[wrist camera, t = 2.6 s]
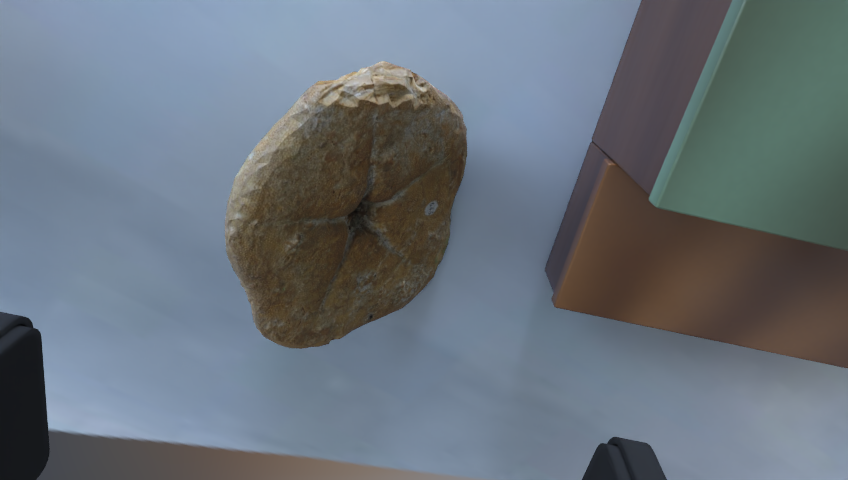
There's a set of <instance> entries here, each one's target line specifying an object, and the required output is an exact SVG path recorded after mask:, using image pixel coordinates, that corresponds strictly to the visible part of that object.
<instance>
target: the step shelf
mask: <svg viewBox="0 0 848 480" xmlns="http://www.w3.org/2000/svg"><path fill="white" fill-rule="evenodd" d="M592 141H593V142H591V143H590V145H589V148H588V151H587V154H586V157H585V159H584V162H583V165H582V168H581V170H580V173H579V176H578V179H577V182H576V184H575V187H574V190H573V193H572V195H571V198H570V201H569V204H568V207H567V209H566V212H565V215H564V218H563V220H562V223H561V226H560V229H559V232H558V234H557V237H556V240H555V243H554V245H553V248H552V251H551V254H550V257H549V259H548V262H547V265H546V268H545V272H546V274H547V277H548V279H549V282H550V284H551V287H552V289H553V292H554V293H553V296H552V302H553V305H554V307H556V308H561V309H566V310H570V311H575V312H580V313H585V314H590V315H594V316H599V317H604V318H609V319H614V320H618V321H623V322H628V323H633V324H638V325H642V326H647V327H652V328H657V329H662V330H666V331H671V332H676V333H681V334H686V335H690V336H695V337H700V338H705V339H710V340H714V341H719V342H724V343H729V344H734V345H738V346H743V347H748V348H753V349H758V350H762V351H767V352H772V353H777V354H782V355H786V356H791V357H796V358H801V359H806V360H810V361H815V362H820V363H825V364H830V365H834V366H839V367H844V368H848V0H642V1H641V4H640V7H639V9H638V12H637V15H636V18H635V20H634V23H633V26H632V29H631V32H630V34H629V37H628V40H627V43H626V45H625V48H624V51H623V54H622V57H621V59H620V62H619V65H618V68H617V70H616V73H615V76H614V79H613V82H612V84H611V87H610V90H609V93H608V95H607V98H606V101H605V104H604V107H603V109H602V112H601V115H600V118H599V120H598V123H597V126H596V129H595V132H594V134H593V137H592Z"/></svg>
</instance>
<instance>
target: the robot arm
mask: <svg viewBox="0 0 848 480" xmlns="http://www.w3.org/2000/svg"><path fill="white" fill-rule="evenodd" d="M48 457H49V436H48V422H47V409H46V395H45V381H44V367H43V354H42V340H41V334H40V332H39V330H38V329H35V328H33V324H32V322H31V320H30V319H29V318H26V317H23V316H18V315H13V314H8V313H3V312H0V480H36V479H37V478H38V477H39V475H40V474H41V472H42V471H43V469H44V468H45V466H46V463H47V461H48ZM582 480H667V479H666V477H665V475H664V473H663V471H662V468H661V466H660V464H659V462H658V460H657V458H656V455H655V453H654V451H653V449H652V448H651V446H650V445H648V444H647V443H643V442H638V441H633V440H629V439H624V438H619V437H613V438H611V439H610V440H609V441H608V443H607V444H604V443H601V444H600V445H599V446H598V447H597V449H596V451H595V453H594V455H593V457H592V459H591V461H590V464H589V466H588V468H587V470H586V472H585V474H584V476H583V478H582Z"/></svg>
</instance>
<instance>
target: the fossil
mask: <svg viewBox="0 0 848 480" xmlns="http://www.w3.org/2000/svg"><path fill="white" fill-rule="evenodd" d="M466 131H467V129H466V126H465V124H464V121H463V115H462V113H461V112H460V110H459V109H458V107H457V106H456V104H455V103H454V102H453V101H452V100H451V99H450V98H449V97H448V96H447V95H445V94H444V93H442V92H441V91H440V90H438V89H437V88H435V87H433V86H432V85H431V84H430V83H429V82H427V81H426V80H425V79H423V78H422V77H420V76H418V75H417V74H415V73H413V72H411V70H409V69H406V68H403V67H399V66H396V65H393V64H391V63H388V62H385V61H382V62H379V63H377V64H375V65H373V66H371V67H366V68H361V69H360V70H359V71H358V72H352V73H350V74H347V75H345V76H342V77H340V78H339V79H338V80H331V81H318V82H317V83H315V84H314V85H312V86H311V87H310V88H308V89H307V90H306V91H305V92H304V93H303V94H302V95H301V97H300V98H299V99H298V100H297V101H296V102H295V103H294V105H293V106H292V107H291V108H290V110H289V111H288V112H287V113H286V114H285V115H284V116H283V117H282V118H281V119H280V120H279V121H278V122H277V123H276V124H274V125H273V127H272V128H271V129H270V131H269V132H268V133H267V134H266V135H265V136H264V137H263V138H262V140H261V141H260V142H259V143H258V145H257V146H256V147H255V148H254V149H253V151H252V152H251V153H250V154H249V156H248V157H247V159H246V160H245V162H244V164H243V166H242V167H241V169H240V171H239V172H238V174H237V175H236V177H235V178H234V182H233V186H232V190H231V193H230V196H229V199H228V203H227V211H226V218H225V241H226V252H227V256H228V259H229V261H230V263H231V265H232V268H233V270H234V272H235V273H236V275H237V276H238V278H239V280H240V282H241V286H242V287H243V288H244V289H245V292H246V294H247V297H248V301H249V302H250V304H251V309H252V315H253V320H254V323H255V325H256V328H257V329H258V330H259V331H260V332H261V334H262V335H263V336H264V337H265V338H267V339H269V340H271V341H273V342H275V343H277V344H279V345H281V346H285V347H288V348H301V349H302V348H308V347H319V346H322V345H326V344H329V342H330V341H331V340H334V339H340V338H342V337H343V336H345V335H346V334H348V333H350V332H351V331H353V330H355V329H357V328H359V327H361V326H363V325H365V324H367V323H369V322H371V321H374V320H377V319H379V318H381V317H384V316H386V315H388V314H390V313H393V312H395V311H397V310H399V309H401V308H403V307H404V306H405V305H407V304H408V303H409V302H410V301H411V300H412V299H413V298H414V297H415V296H416V295H417V294H418V293H419V292H420V291H421V290H423V288H424V287H425V286H426V285H427V284H428V283H429V282H430V280H431V279H432V278H433V277H434V274H435V272H436V269H437V267H438V265H439V264H440V262H441V261H442V258H443V255H444V253H445V250H446V247H447V245H448V240H449V236H450V222H451V218H450V215H451V209H452V205H453V201H454V198H455V195H456V193H457V191H458V188H459V186H460V183H461V181H462V178H463V175H464V170H465V165H466V157H467V140H466Z"/></svg>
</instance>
